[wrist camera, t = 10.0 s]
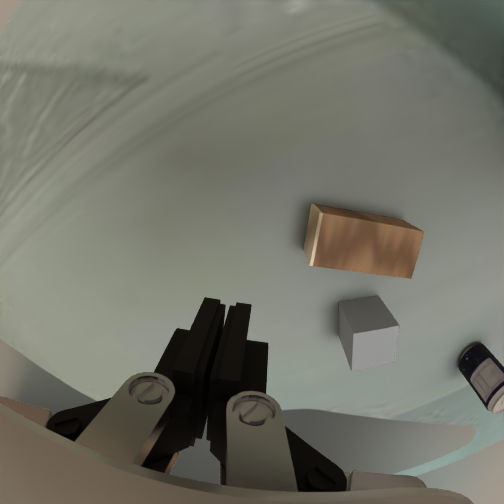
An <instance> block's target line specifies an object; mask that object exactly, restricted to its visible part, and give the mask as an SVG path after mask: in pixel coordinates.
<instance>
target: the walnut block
mask: <svg viewBox="0 0 504 504" xmlns="http://www.w3.org/2000/svg"><path fill="white" fill-rule="evenodd" d="M423 233H424V231H422V230H420V229H418V228H417V227H415V226H413V225H411V224H409V223H407V222H406V221H404V220H399V219H394V218H389V217H384V216H379V215H373V214H368V213H363V212H357V211H352V210H346V209H340V208H334V207H328V206H322V205H316V204H311V209H310V215H309V220H308V226H307V232H306V237H305V243H304V248H303V250H304V252H305V255H306V257H307V260H308V263H309V265H310V266H317V267H325V268H332V269H340V270H348V271H355V272H363V273H371V274H379V275H387V276H394V277H402V278H410V279H411V278H412V274H413V271H414V267H415V264H416V260H417V257H418V253H419V249H420V245H421V242H422V238H423Z"/></svg>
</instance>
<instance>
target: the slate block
mask: <svg viewBox="0 0 504 504" xmlns="http://www.w3.org/2000/svg"><path fill="white" fill-rule="evenodd" d="M399 326H400V325H399V324H398V323H397V321H396V320H395V318H394V317H393V315H392V314H391V313H390V311H389V310H388V308H387V307H386V306H385V304H384V303H383V301H382V300H381V299H380V297H379V296H373V297H366V298H360V299H353V300H346V301H339V338H340V341H341V343H342V346H343V349H344V352H345V355H346V357H347V360H348V363H349V366H350V369H351V371H357V370H363V369H368V368H373V367H378V366H383V365H388V364H392V363H394V361H395V355H396V348H397V341H398V334H399Z"/></svg>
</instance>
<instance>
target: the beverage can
mask: <svg viewBox="0 0 504 504" xmlns="http://www.w3.org/2000/svg"><path fill="white" fill-rule="evenodd" d="M459 370H460V371H461V373H462V374H463V375H464V377H465V378H466V380H467V381H468V382H469V384H470V385H471V387H472V388H473V389H474V391H475V392H476V394H477V395H478V397H479V398H480V400H481V401H482V403H483V404H484V406H485V407H486V409H487V410H488V411H491V412H492V413H493V414H498V413H500V412H502V411H504V367H503V366H502V365H501V363H500V362H499V361H498V360H497V359H496V358H495V357H494V355H493V354H492V353H491V352H490V351H489V350H488V349H487V348H486V347H485V346H484V345H483V344H476V345H472V346H470V347H469V348H468V349H466V350H465V352H464V353H463V354H462V356H461V359H460V363H459Z"/></svg>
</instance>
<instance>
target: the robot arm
mask: <svg viewBox="0 0 504 504" xmlns="http://www.w3.org/2000/svg"><path fill="white" fill-rule="evenodd" d="M251 306H252V305H251V304H244V303H238V302H237V303H236V306H231V305H230V307H229V311H228V314H227V318H226V321H225V325H224V317H225V304H220V300H218V299H212V298H206V297H205V298H204V300H203V302H202V304H201V307H200V309H199V311H198V313H197V315H196V318H195V320H194V322H193V324H192V326H191V329H190V330H185V329H180V328H177V329H176V330H175V332H174V334H173V336H172V338H171V340H170V342H169V344H168V346H167V347H166V349H165V351H164V353H163V355H162V357H161V359H160V361H159V363H158V365H157V367H156V369H155V371H154V372H143V373H138V374H135V375H133V376H131V377H130V378H129V379H128V380H126V381H125V383H124V384H123V385H122V386H121V387H120V389H119V390H118V391H117V392H116V393H115V394H114V396H113V397H112V398H108V399H105V400H101V401H98V402H94V403H90V404H87V405H83V406H79V407H75V408H72V409H67V410H63V411H60V412H58V413H56V414H52V412H51V410H48V409H44V408H41V407H37V406H33V405H29V404H26V403H23V402H19V401H16V400H13V399H9V398H6V397H0V504H474V503H473V502H472V501H471V500H470V499H468V498H467V497H465V496H464V495H462V494H459V493H456V492H452V491H448V490H442V489H435V488H427V487H426V485H425V484H424V482H423V481H422V480H420V479H419V478H417V477H414V476H408V475H392V474H381V473H371V472H362V471H356V470H353V471H352V472H351V473H347V472H343V470H341V469H340V468H339V467H338V466H337V465H336V464H334V463H333V462H331V461H330V460H329V459H327V458H326V457H325V456H323V455H322V454H321V453H319V452H318V451H317V450H315V449H314V448H312V447H311V446H310V445H308V444H307V443H306V442H305V441H304V440H302V439H301V438H299V437H298V436H297V435H296V434H295V433H293V432H292V431H291V430H290V429H288V428H287V427H286V426H285V425H284V421H283V415H282V410H281V408H280V405H279V404H278V402H277V401H276V400H275V399H274V398H272V397H271V396H269V395H267V394H266V383H267V363H268V343H265V342H258V341H251V340H247V333H248V326H249V320H250V313H251ZM223 327H224V328H223ZM207 416H208V420H207ZM206 420H207V440H209V441H211V443H210V451H211V453H212V454H213V455H214V456H215V457H216V458H217V459H218V460H219V461H220V485H218V484H212V483H206V482H201V481H196V480H191V479H186V478H182V477H178V476H173V475H169V474H170V472H171V470H172V468H173V466H174V464H175V462H176V460H177V458H178V456H179V451H181V450H183V449H185V448H188V447H189V446H194V443H195V439H196V438H199V439H202V436H203V432H204V428H205V424H206Z"/></svg>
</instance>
